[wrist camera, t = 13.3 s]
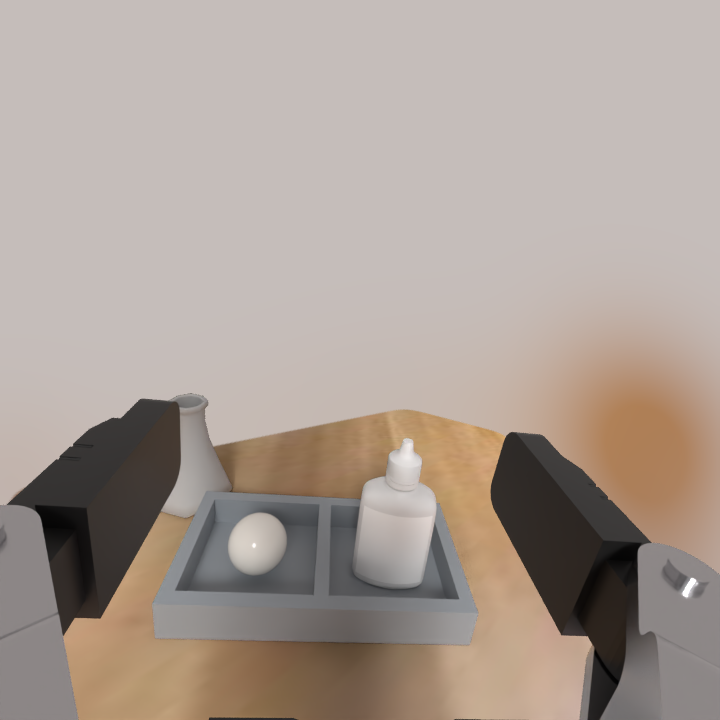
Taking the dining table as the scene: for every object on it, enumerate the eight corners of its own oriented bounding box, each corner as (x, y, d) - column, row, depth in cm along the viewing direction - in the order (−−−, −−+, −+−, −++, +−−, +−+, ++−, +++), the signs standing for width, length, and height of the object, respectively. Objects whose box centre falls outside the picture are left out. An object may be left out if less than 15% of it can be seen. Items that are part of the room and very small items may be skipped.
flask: (198, 462, 44) (195, 378, 41) (245, 489, 41) (247, 400, 38) (133, 496, 38) (124, 401, 35) (183, 531, 35) (178, 429, 32)
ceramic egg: (221, 588, 29) (220, 540, 28) (235, 542, 33) (235, 499, 32) (282, 590, 30) (284, 543, 28) (288, 544, 34) (291, 501, 32)
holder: (155, 638, 26) (152, 603, 25) (206, 518, 36) (206, 491, 35) (469, 644, 28) (478, 613, 27) (433, 529, 38) (439, 503, 37)
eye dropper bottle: (404, 611, 29) (431, 470, 25) (342, 570, 32) (357, 437, 28) (430, 573, 33) (457, 443, 29) (372, 538, 35) (389, 417, 31)
